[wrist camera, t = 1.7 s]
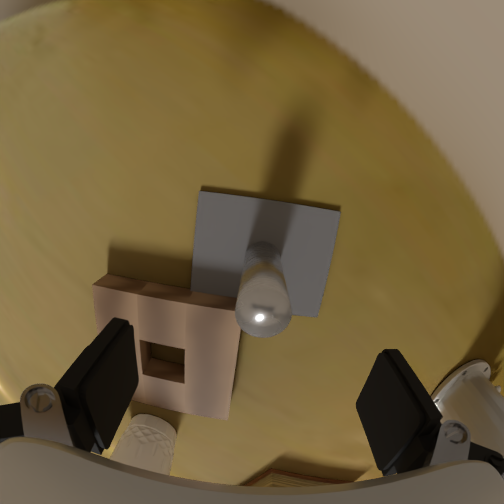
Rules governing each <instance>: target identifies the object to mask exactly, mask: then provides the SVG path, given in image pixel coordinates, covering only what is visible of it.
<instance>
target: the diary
mask: <svg viewBox="0 0 504 504" xmlns="http://www.w3.org/2000/svg"><path fill="white" fill-rule="evenodd" d="M352 482H353V481H342V480H333V479H326V478H319V477H312V476H306V475H301V474H296V473H290V472H286V471H281V470H277V469H272V468H271V469H269V470H268V471H266V472H265V473H263V474H262V475H260V476H259V477H257V478H256V479H254V480H252V481H251V482H249V483H248V484H246V485H244V486H251V487H310V486H324V485H335V484H344V483H352Z"/></svg>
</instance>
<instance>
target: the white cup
mask: <svg viewBox="0 0 504 504" xmlns="http://www.w3.org/2000/svg"><path fill="white" fill-rule="evenodd" d="M176 438H177V434H176V431H175V429H174V428H173V427H172V426H171V425H170V424H169V423H168V422H166V421H164V420H163V419H161V418H159V417H156V416H153V415H149V414H138V415H136V416H134V417H133V418H132V420H131V422H130V424H129V425H128V427H127V429H126V430H125V431H124V433H123V435H122V436H121V438H120V440H119V441H118V443H117V445H116V447H115V449H114V451H113V453H112V455H111V457H110V460H113V461H117V462H120V463H123V464H126V465H130V466H133V467H137V468H141V469H145V470H148V471H152V472H156V473H160V474H165V475H170V471H171V466H172V459H173V455H174V447H175V442H176Z"/></svg>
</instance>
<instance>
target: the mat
mask: <svg viewBox="0 0 504 504" xmlns="http://www.w3.org/2000/svg"><path fill="white" fill-rule="evenodd" d="M340 213H341V212H340V211H334V210H329V209H323V208H318V207H312V206H306V205H300V204H294V203H287V202H281V201H274V200H267V199H260V198H253V197H246V196H239V195H231V194H223V193H215V192H206V191H199V198H198V207H197V216H196V227H195V237H194V249H193V262H192V275H191V291H195V292H201V293H208V294H214V295H221V296H227V297H234V298H237V296H238V291H239V286H240V280H241V275H242V269H243V264H244V259H245V254H246V251H247V249H248V248H249V247H250V246H251V245H252V244H254V243H256V242H261V241H264V242H269V243H271V244H272V245H274V246H275V247H276V248H277V250H278V252H279V255H280V259H281V263H282V268H283V272H284V277H285V281H286V286H287V290H288V295H289V299H290V304H291V309H292V315H299V316H309V317H317V316H318V313H319V309H320V305H321V301H322V297H323V293H324V289H325V285H326V280H327V276H328V272H329V267H330V263H331V258H332V254H333V249H334V244H335V239H336V234H337V229H338V224H339V219H340Z"/></svg>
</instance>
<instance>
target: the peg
mask: <svg viewBox="0 0 504 504" xmlns="http://www.w3.org/2000/svg"><path fill="white" fill-rule="evenodd" d="M291 316H292V309H291V304H290V299H289V295H288V290H287V286H286V281H285V277H284V272H283V268H282V263H281V259H280V255H279V252H278V250H277V248H276V247H275V246H274V245H272V244H271V243H269V242H264V241H261V242H256V243H254V244H252V245H251V246H250V247H249V248H248V249H247V251H246V254H245V259H244V264H243V269H242V275H241V280H240V286H239V291H238V296H237V302H236V307H235V318H236V321H237V323H238V325H239V326H240V328H241V329H242V330H243V331H245V332H246V333H248V334H249V335H252V336H255V337H261V338H265V337H271V336H274V335H277V334H279V333H280V332H282V331H283V330H284V329H285V328H286V327H287V326H288V324H289V322H290V320H291Z"/></svg>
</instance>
